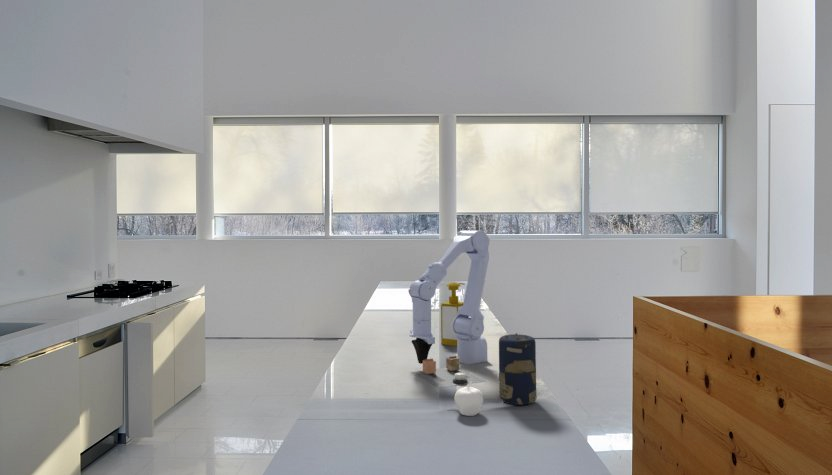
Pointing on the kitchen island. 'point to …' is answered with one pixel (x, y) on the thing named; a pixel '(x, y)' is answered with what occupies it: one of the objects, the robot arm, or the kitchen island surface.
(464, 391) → the plain white apple
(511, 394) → the canister
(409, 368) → the kitchen island surface
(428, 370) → the terracotta knob
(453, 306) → the soap bottle
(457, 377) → the button
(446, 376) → the panel
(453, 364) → the oak knob
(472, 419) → the kitchen island surface
